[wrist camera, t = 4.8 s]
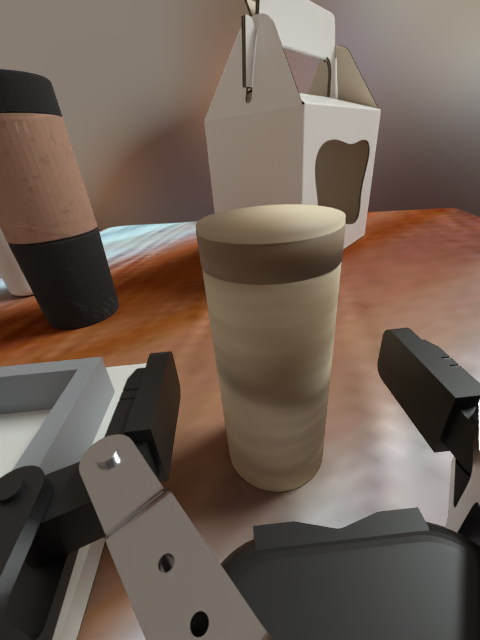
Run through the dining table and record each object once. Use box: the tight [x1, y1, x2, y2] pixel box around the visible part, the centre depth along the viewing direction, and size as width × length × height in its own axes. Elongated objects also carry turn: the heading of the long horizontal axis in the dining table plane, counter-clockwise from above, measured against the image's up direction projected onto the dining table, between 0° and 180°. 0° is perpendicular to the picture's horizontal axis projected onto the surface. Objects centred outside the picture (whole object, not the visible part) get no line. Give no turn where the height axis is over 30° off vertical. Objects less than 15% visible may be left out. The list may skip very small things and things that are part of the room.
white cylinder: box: [0, 228, 34, 296], centre depth 36 cm, size 7×7×15 cm
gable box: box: [204, 0, 381, 249], centre depth 39 cm, size 22×13×28 cm, turn 141°
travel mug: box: [0, 69, 119, 329], centre depth 27 cm, size 8×8×20 cm
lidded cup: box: [196, 204, 346, 492], centre depth 13 cm, size 5×5×12 cm
